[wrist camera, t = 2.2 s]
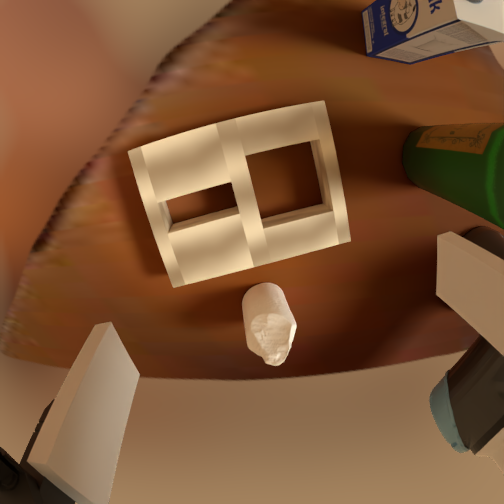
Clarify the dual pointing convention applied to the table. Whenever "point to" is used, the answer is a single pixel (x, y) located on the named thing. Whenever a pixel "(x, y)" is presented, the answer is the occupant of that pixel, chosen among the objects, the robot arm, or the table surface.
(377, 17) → the milk carton
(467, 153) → the bottle
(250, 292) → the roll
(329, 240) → the socket board
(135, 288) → the table surface
